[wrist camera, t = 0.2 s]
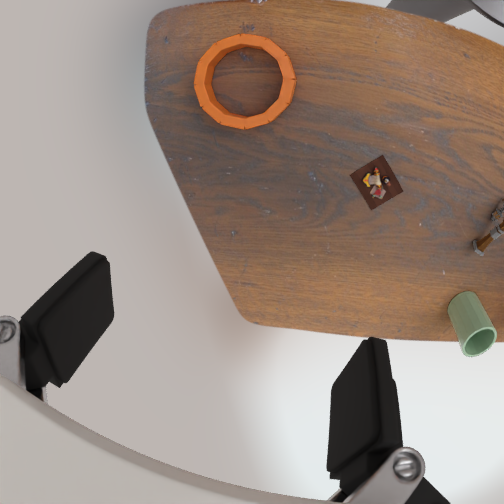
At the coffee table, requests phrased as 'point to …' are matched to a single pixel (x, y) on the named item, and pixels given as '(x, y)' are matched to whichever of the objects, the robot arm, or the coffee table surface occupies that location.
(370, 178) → the diorama
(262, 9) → the coffee table surface
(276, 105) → the ring
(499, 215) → the wooden post with brackets
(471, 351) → the cup
